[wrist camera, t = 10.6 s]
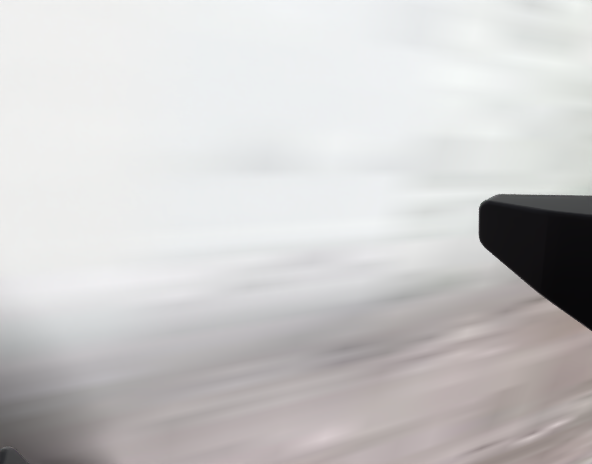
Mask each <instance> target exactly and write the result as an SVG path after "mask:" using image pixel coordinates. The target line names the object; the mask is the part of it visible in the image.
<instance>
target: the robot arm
mask: <svg viewBox="0 0 592 464" xmlns="http://www.w3.org/2000/svg"><path fill="white" fill-rule="evenodd" d="M479 239H480V242H481V243H482V245H483V246H484V247H485V248H486V249H487V250H488V251H489V252H491V253H492V254H493V255H494V256H495V257H496V258H498V259H499V260H500V261H501V262H502V263H504V264H505V265H506V266H507V267H508V268H509V269H511V270H512V271H513V272H514V273H515V274H516V275H518V276H519V277H520V278H521V279H522V280H524V281H525V282H526V283H527V284H528V285H529V286H531V287H532V288H533V289H534V290H536V291H537V292H538V293H539V294H540V295H542V296H543V297H545V298H546V299H547V300H549V301H550V302H551V303H553V304H554V305H556V306H557V307H558V308H560V309H561V310H563V311H564V312H565V313H567V314H568V315H570V316H571V317H573V318H574V319H575V320H577V321H578V322H580V323H581V324H582V325H584V326H585V327H587V328H588V329H589V330H591V331H592V196H578V195H516V194H499V195H495V196H493V197H491V198H489V199H487V200H485V201H483V202H482V203H481V205H480V207H479ZM0 464H29V463H28V462H27V461H26V460H25V459H24V458H23V457H22V455H21V454H20V453H19V452H18V451H17V450H16V449H15V448H13V447H3V448H1V449H0Z"/></svg>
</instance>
